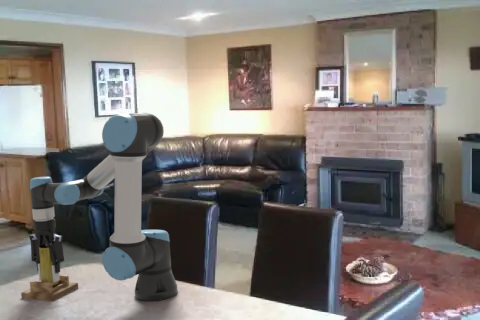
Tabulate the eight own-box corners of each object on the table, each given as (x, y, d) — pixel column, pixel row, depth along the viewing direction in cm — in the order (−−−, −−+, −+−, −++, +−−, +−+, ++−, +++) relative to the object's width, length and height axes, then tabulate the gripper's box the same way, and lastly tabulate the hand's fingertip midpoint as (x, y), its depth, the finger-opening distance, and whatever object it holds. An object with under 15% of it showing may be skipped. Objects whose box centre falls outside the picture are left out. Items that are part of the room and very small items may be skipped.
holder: (78, 288, 192) (77, 273, 191) (52, 301, 179) (50, 286, 178) (49, 285, 197) (48, 271, 196) (21, 297, 184) (20, 283, 183)
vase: (52, 286, 184) (49, 248, 182) (37, 286, 185) (34, 248, 184) (61, 281, 190) (58, 244, 188) (47, 281, 191) (43, 244, 190)
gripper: (71, 217, 185) (76, 279, 187) (31, 216, 192) (37, 275, 194) (57, 222, 178) (62, 285, 180) (16, 220, 185) (22, 281, 187)
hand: (49, 280), depth 187 cm, fingers closed on vase, 6 cm apart
